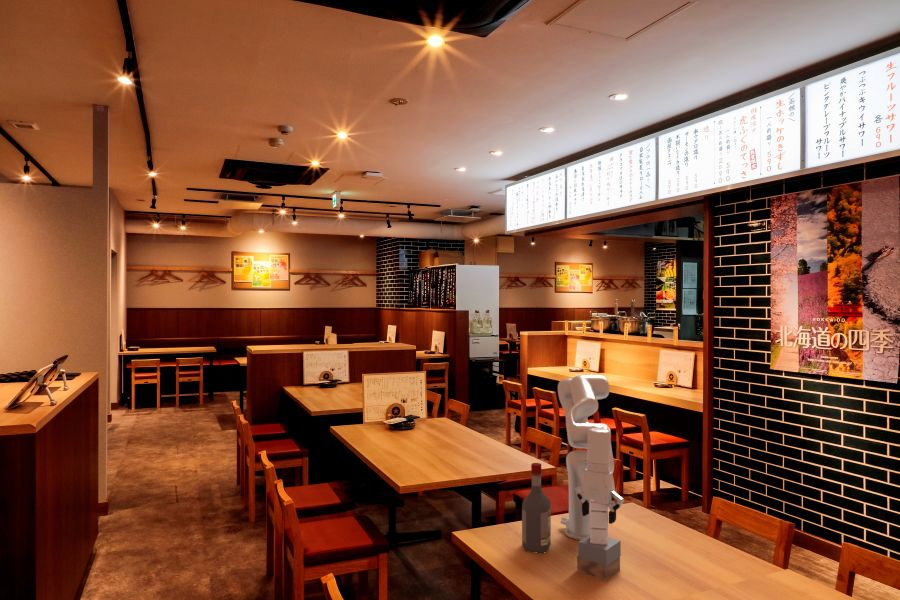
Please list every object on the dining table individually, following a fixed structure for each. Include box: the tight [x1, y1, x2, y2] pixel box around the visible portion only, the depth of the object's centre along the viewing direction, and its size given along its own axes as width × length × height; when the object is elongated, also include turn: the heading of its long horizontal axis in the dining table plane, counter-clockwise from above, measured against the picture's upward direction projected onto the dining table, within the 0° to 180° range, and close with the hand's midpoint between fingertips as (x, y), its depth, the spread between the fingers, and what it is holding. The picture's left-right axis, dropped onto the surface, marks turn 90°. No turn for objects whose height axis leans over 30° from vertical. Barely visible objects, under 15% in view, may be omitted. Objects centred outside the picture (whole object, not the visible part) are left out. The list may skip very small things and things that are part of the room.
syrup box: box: [590, 499, 609, 545], centre depth 191 cm, size 6×6×14 cm
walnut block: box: [576, 556, 621, 582], centre depth 191 cm, size 10×10×5 cm
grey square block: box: [577, 535, 622, 566], centre depth 191 cm, size 10×10×5 cm
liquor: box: [521, 462, 552, 554], centre depth 208 cm, size 9×9×30 cm
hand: (598, 518), depth 190 cm, fingers open, 9 cm apart
